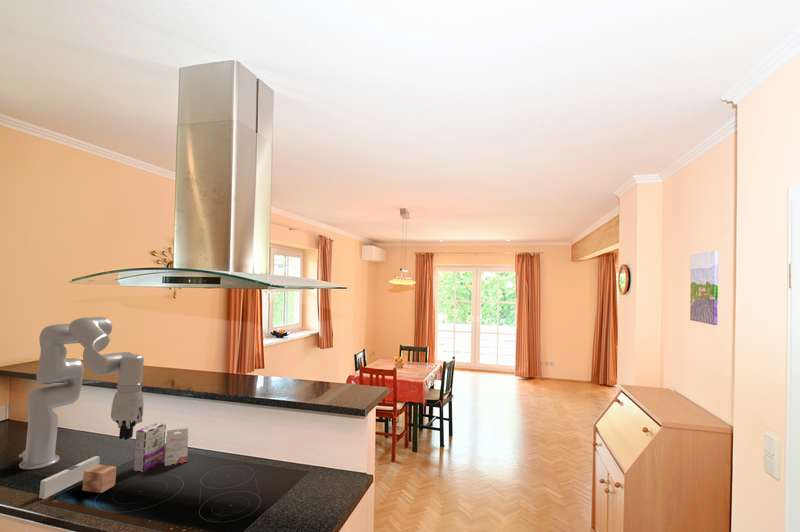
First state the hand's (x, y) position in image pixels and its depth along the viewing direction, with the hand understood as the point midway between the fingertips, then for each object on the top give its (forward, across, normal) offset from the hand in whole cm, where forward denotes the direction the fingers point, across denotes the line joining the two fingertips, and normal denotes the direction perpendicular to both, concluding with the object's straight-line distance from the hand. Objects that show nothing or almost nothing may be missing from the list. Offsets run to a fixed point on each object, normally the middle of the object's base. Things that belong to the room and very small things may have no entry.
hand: (125, 437), depth 151 cm
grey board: (+19, -22, 0) cm, 29 cm away
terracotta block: (+19, -10, 0) cm, 21 cm away
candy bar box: (+19, -6, +20) cm, 28 cm away
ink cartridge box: (+19, +2, +26) cm, 33 cm away
